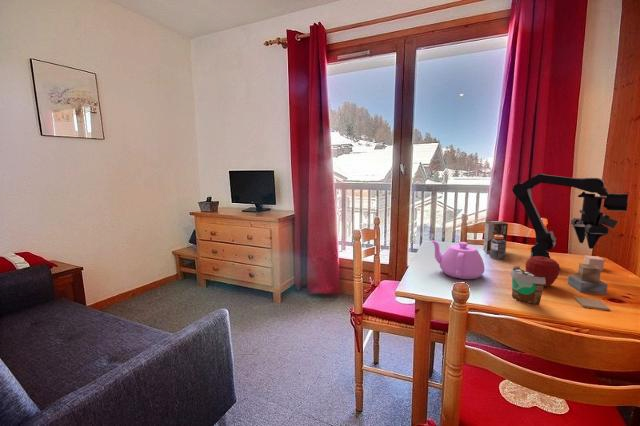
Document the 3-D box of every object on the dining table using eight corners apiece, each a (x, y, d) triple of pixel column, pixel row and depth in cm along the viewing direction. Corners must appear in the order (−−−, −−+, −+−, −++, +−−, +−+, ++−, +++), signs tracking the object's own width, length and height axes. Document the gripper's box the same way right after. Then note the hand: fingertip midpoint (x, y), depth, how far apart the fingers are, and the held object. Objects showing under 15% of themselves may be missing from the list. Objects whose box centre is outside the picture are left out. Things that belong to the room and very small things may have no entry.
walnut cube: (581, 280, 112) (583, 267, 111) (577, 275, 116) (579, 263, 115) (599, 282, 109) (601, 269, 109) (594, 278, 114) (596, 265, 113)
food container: (499, 292, 111) (502, 265, 109) (515, 291, 111) (518, 265, 110) (525, 308, 99) (528, 278, 97) (542, 307, 99) (546, 278, 98)
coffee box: (501, 250, 161) (504, 221, 158) (505, 254, 155) (508, 223, 152) (482, 249, 163) (485, 220, 160) (486, 253, 157) (488, 222, 154)
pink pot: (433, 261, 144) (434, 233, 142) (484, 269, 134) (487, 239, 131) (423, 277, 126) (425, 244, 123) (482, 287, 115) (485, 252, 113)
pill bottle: (502, 256, 152) (504, 234, 150) (505, 260, 146) (507, 237, 144) (488, 255, 154) (490, 233, 152) (491, 258, 148) (493, 236, 146)
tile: (582, 307, 99) (582, 305, 99) (574, 298, 106) (574, 296, 105) (609, 310, 97) (610, 309, 96) (599, 301, 103) (599, 299, 103)
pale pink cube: (588, 269, 133) (589, 258, 132) (583, 265, 138) (585, 255, 137) (602, 271, 131) (604, 259, 131) (597, 267, 136) (599, 256, 135)
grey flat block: (580, 293, 110) (581, 282, 110) (567, 284, 118) (568, 274, 117) (605, 295, 109) (607, 284, 108) (591, 286, 116) (592, 276, 116)
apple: (560, 293, 110) (564, 262, 108) (524, 287, 115) (528, 257, 113) (555, 282, 119) (558, 253, 117) (522, 277, 124) (525, 250, 122)
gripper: (629, 213, 113) (623, 254, 115) (605, 206, 130) (599, 241, 132) (592, 211, 117) (586, 251, 119) (572, 205, 134) (568, 239, 137)
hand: (585, 245), depth 127 cm, fingers open, 9 cm apart
